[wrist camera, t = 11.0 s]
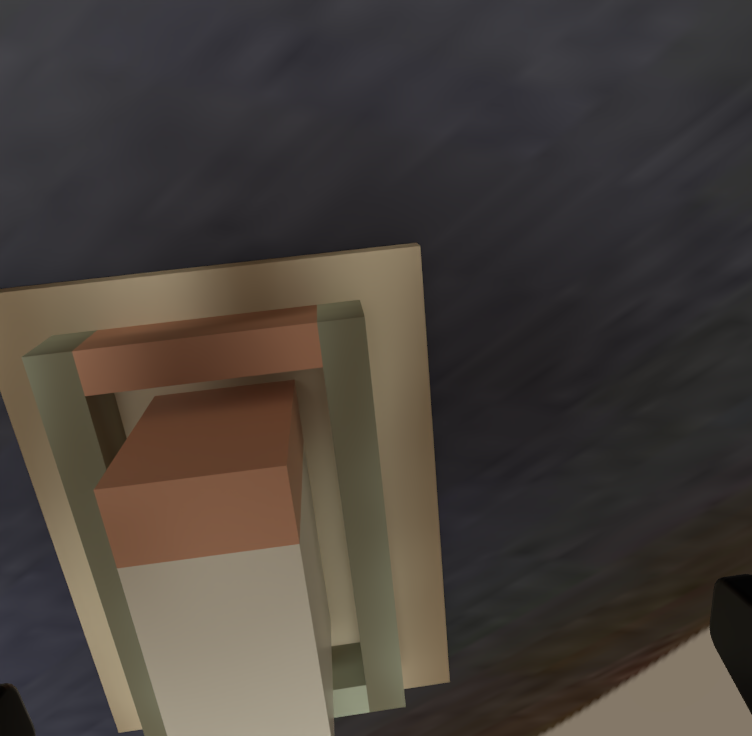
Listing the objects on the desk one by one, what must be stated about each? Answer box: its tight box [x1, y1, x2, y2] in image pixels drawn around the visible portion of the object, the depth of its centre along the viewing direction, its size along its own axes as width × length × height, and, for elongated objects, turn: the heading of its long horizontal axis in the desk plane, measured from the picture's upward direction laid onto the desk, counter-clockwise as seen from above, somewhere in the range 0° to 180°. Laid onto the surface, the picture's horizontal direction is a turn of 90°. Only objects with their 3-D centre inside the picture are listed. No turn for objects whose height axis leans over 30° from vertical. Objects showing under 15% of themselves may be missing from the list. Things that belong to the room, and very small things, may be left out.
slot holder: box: [0, 243, 450, 736], centre depth 18 cm, size 12×16×2 cm
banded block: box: [94, 379, 334, 736], centre depth 16 cm, size 9×4×5 cm, turn 5°
